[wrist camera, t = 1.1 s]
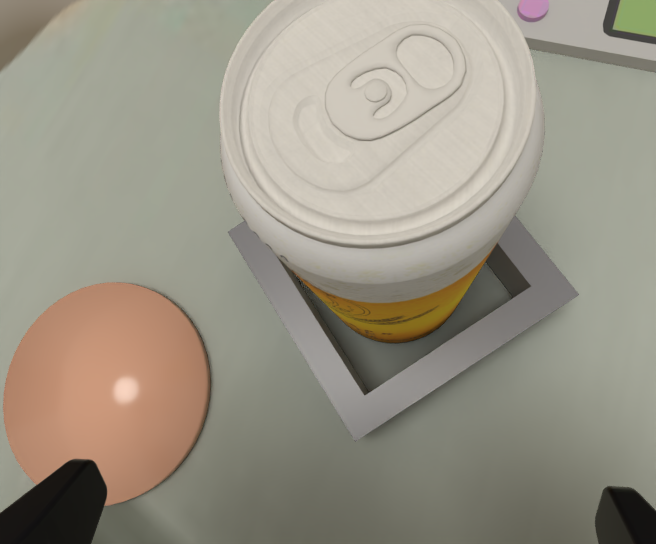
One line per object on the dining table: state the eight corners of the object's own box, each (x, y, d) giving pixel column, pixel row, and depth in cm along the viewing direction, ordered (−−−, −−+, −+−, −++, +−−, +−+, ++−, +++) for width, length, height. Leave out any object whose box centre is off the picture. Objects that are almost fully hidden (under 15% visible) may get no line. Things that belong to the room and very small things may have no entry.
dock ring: (556, 306, 22) (579, 294, 19) (362, 434, 22) (354, 441, 19) (421, 135, 24) (423, 102, 21) (249, 250, 24) (227, 231, 21)
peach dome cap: (249, 424, 22) (245, 425, 22) (62, 548, 22) (53, 552, 22) (151, 246, 25) (144, 243, 24) (-17, 357, 25) (-26, 356, 25)
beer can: (303, 260, 24) (139, 65, 9) (411, 188, 24) (417, -120, 9) (374, 371, 22) (313, 346, 8) (490, 294, 22) (650, 123, 8)
